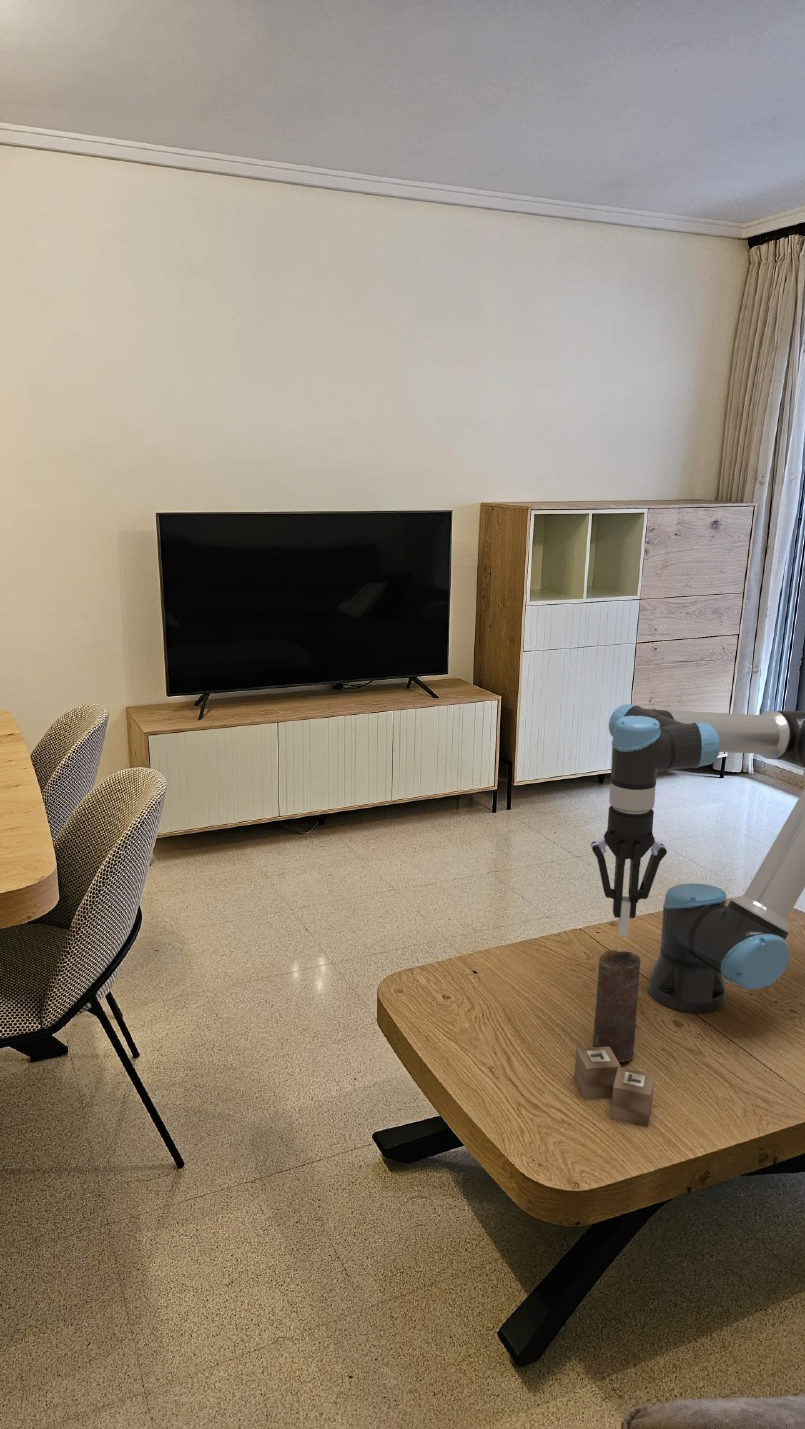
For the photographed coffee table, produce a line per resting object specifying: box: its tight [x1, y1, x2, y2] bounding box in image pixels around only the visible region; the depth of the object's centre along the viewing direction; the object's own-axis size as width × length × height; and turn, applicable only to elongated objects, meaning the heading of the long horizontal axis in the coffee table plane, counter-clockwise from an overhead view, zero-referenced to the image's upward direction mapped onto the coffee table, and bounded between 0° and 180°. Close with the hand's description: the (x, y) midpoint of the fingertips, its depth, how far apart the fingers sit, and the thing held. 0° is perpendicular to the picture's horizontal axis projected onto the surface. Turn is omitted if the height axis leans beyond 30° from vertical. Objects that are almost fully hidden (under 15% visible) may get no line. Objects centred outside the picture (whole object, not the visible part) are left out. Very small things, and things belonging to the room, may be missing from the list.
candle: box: [592, 949, 641, 1063], centre depth 177 cm, size 8×7×20 cm
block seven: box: [610, 1066, 656, 1128], centre depth 163 cm, size 6×6×6 cm
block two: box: [573, 1046, 622, 1101], centre depth 169 cm, size 6×6×6 cm
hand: (622, 933), depth 174 cm, fingers closed
